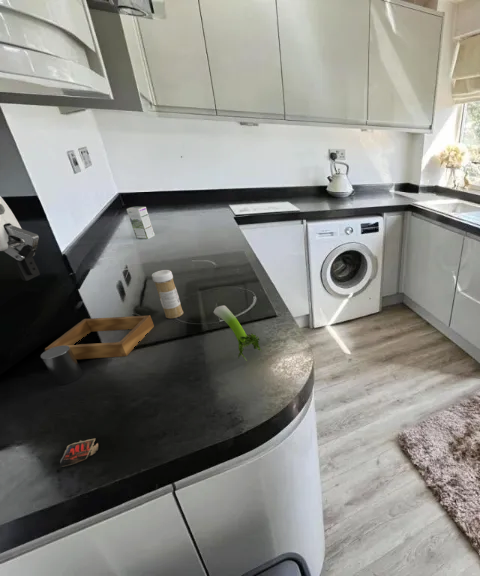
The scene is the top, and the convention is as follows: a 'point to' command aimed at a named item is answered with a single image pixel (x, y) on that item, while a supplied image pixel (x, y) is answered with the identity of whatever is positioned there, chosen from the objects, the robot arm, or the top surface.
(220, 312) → the celery stalk
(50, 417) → the top surface
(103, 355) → the wooden frame
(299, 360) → the top surface
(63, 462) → the matchbox
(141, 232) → the syrup box
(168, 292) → the sprinkles bottle
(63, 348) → the gray metal cup
